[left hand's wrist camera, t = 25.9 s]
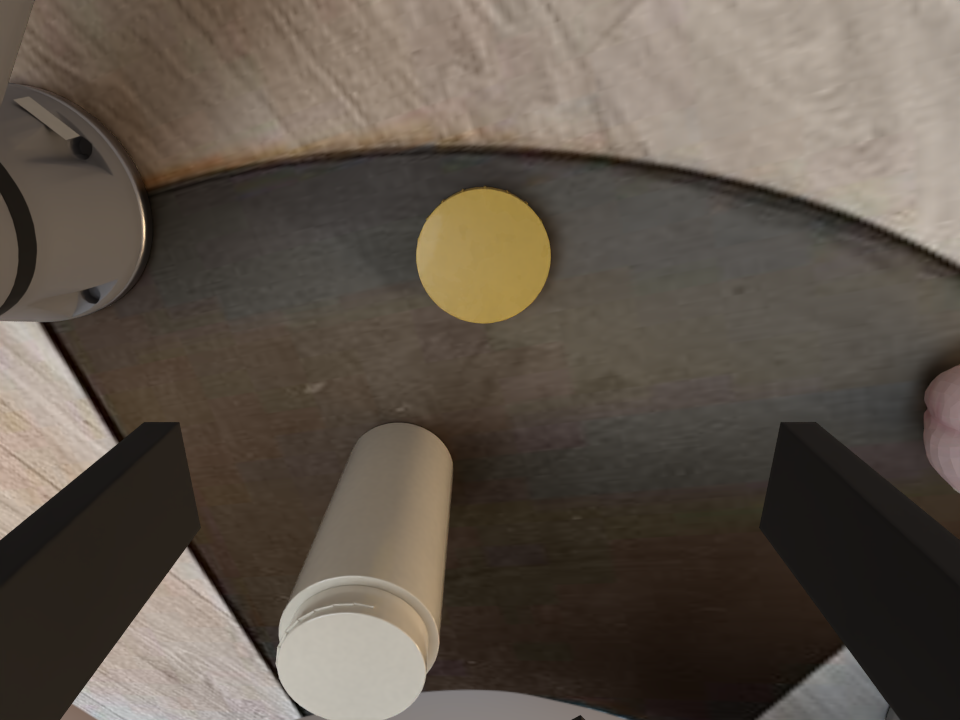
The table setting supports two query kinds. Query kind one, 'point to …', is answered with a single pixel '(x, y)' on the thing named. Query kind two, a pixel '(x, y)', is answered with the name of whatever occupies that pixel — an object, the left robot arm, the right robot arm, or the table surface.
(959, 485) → the toy
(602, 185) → the table surface
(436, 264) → the lid
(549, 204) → the table surface
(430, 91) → the table surface
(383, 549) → the jar
